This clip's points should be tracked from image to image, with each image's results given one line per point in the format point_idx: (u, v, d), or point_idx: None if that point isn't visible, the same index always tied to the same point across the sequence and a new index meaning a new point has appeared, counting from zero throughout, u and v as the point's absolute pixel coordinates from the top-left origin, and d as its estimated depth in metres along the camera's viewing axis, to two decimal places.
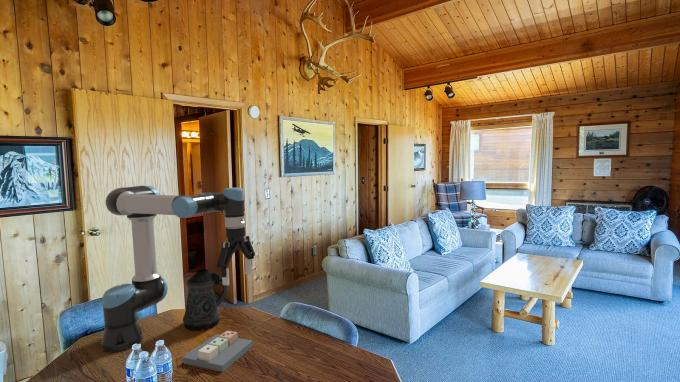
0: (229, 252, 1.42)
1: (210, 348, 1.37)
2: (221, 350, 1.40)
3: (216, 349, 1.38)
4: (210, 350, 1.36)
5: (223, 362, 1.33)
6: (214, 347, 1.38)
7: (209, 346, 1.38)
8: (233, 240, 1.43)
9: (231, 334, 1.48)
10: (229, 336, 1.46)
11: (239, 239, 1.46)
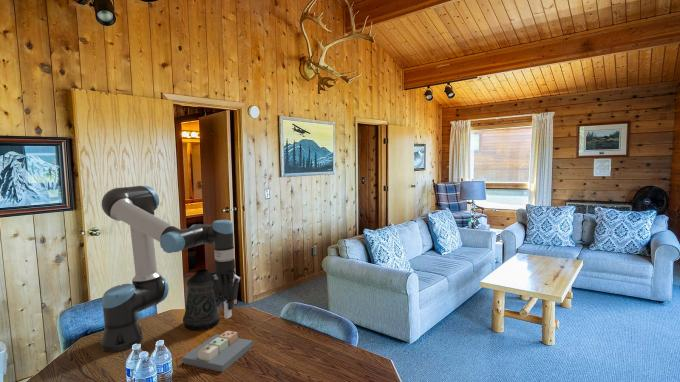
0: None
1: (210, 348, 1.37)
2: (221, 350, 1.40)
3: (216, 349, 1.38)
4: (210, 350, 1.36)
5: (223, 362, 1.33)
6: (214, 347, 1.38)
7: (209, 346, 1.38)
8: (216, 271, 1.46)
9: (231, 334, 1.48)
10: (229, 336, 1.46)
11: None
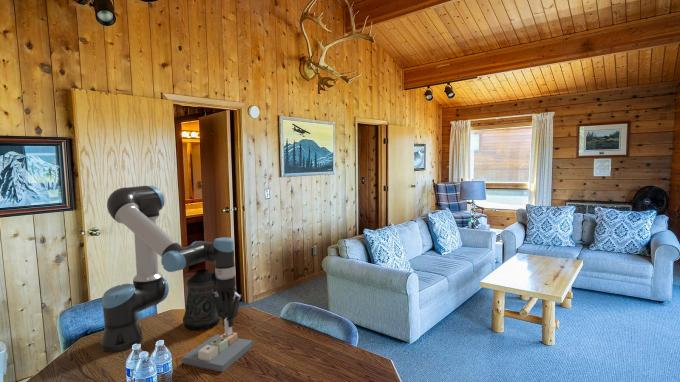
0: None
1: (210, 348, 1.37)
2: (221, 350, 1.40)
3: (216, 349, 1.38)
4: (210, 350, 1.36)
5: (223, 362, 1.33)
6: (214, 347, 1.38)
7: (209, 346, 1.38)
8: (217, 288, 1.47)
9: (231, 335, 1.48)
10: (229, 337, 1.46)
11: None
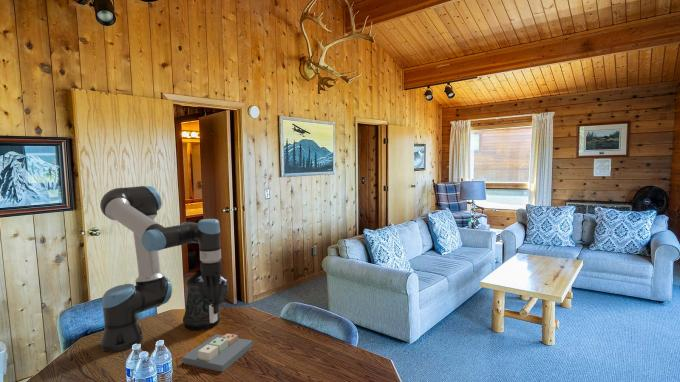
0: None
1: (210, 348, 1.37)
2: (221, 350, 1.40)
3: (216, 349, 1.38)
4: (210, 350, 1.36)
5: (223, 362, 1.33)
6: (214, 347, 1.38)
7: (209, 346, 1.38)
8: (201, 273, 1.38)
9: (231, 337, 1.48)
10: (229, 339, 1.46)
11: None
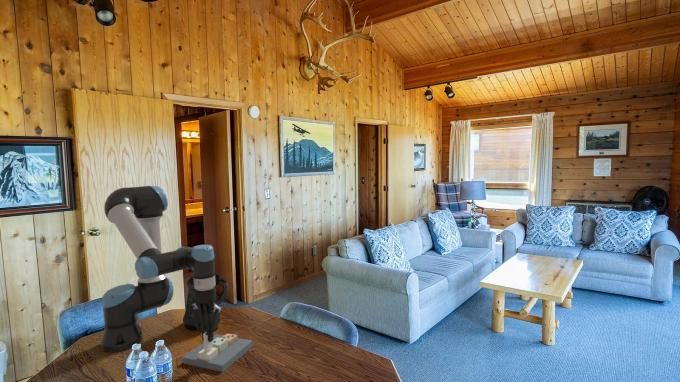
0: None
1: (210, 350, 1.37)
2: (221, 350, 1.40)
3: (216, 351, 1.38)
4: (210, 352, 1.36)
5: (223, 362, 1.33)
6: (214, 349, 1.38)
7: None
8: None
9: (231, 337, 1.48)
10: (229, 339, 1.46)
11: None
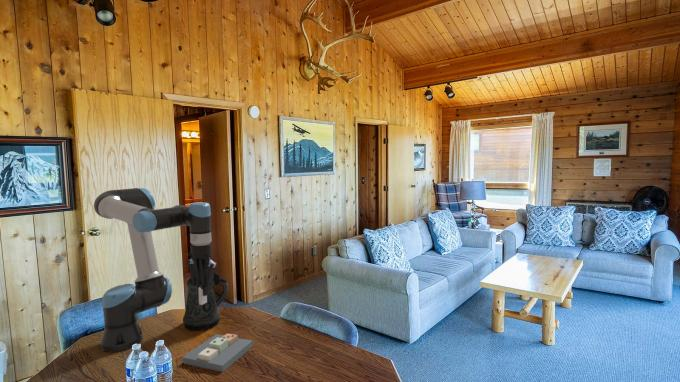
0: None
1: (210, 351, 1.37)
2: (221, 350, 1.40)
3: (216, 352, 1.38)
4: (210, 353, 1.36)
5: (223, 362, 1.33)
6: (214, 350, 1.38)
7: (209, 349, 1.39)
8: (192, 255, 1.40)
9: (231, 337, 1.48)
10: (229, 339, 1.46)
11: None
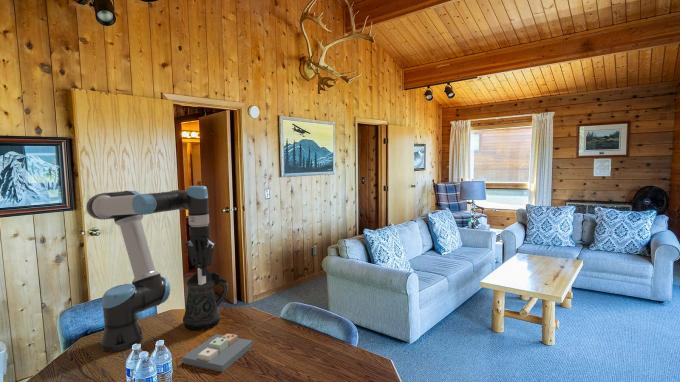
0: None
1: (210, 351, 1.37)
2: (221, 350, 1.40)
3: (216, 352, 1.38)
4: (210, 353, 1.36)
5: (223, 362, 1.33)
6: (214, 350, 1.38)
7: (209, 349, 1.39)
8: None
9: (231, 337, 1.48)
10: (229, 339, 1.46)
11: None
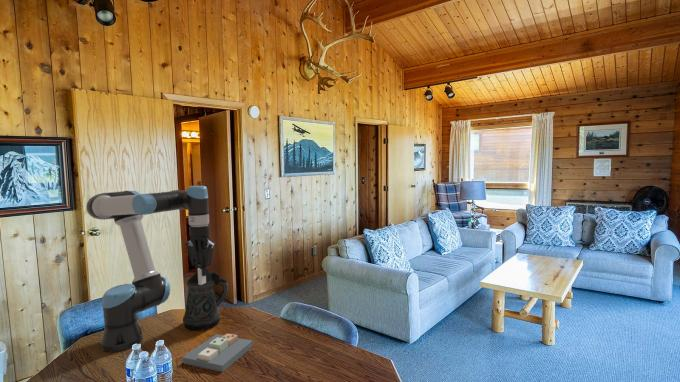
0: None
1: (210, 351, 1.37)
2: (221, 350, 1.40)
3: (216, 352, 1.38)
4: (210, 353, 1.36)
5: (223, 362, 1.33)
6: (214, 350, 1.38)
7: (209, 349, 1.39)
8: None
9: (231, 337, 1.48)
10: (229, 339, 1.46)
11: None
